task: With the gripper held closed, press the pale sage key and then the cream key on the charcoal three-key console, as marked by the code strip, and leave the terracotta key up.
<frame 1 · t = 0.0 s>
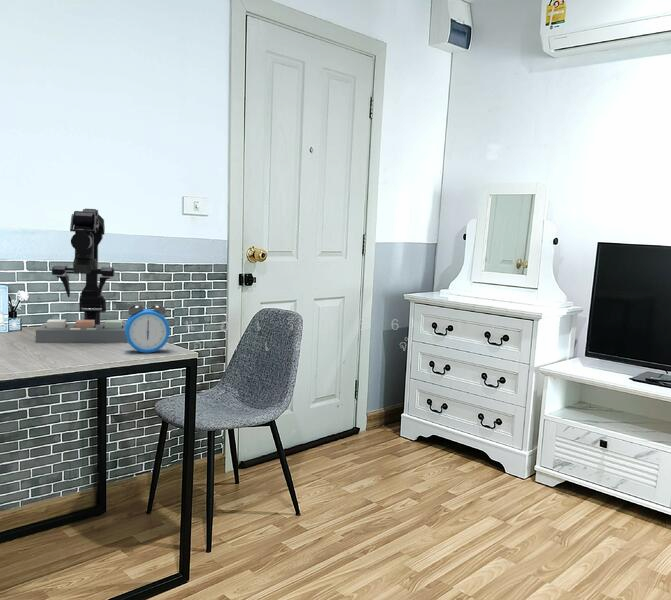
hand: (83, 297, 204), 15 cm above the table, tool pointing down, fingers open, 9 cm apart
cream key: (56, 325, 207), point 4 cm above the table, slide at 0.0 cm
alarm clock: (146, 352, 193), on the table
sage key: (113, 326, 212), point 4 cm above the table, slide at 0.0 cm
console: (84, 339, 209), on the table
terracotta key: (85, 326, 210), point 4 cm above the table, slide at 0.0 cm
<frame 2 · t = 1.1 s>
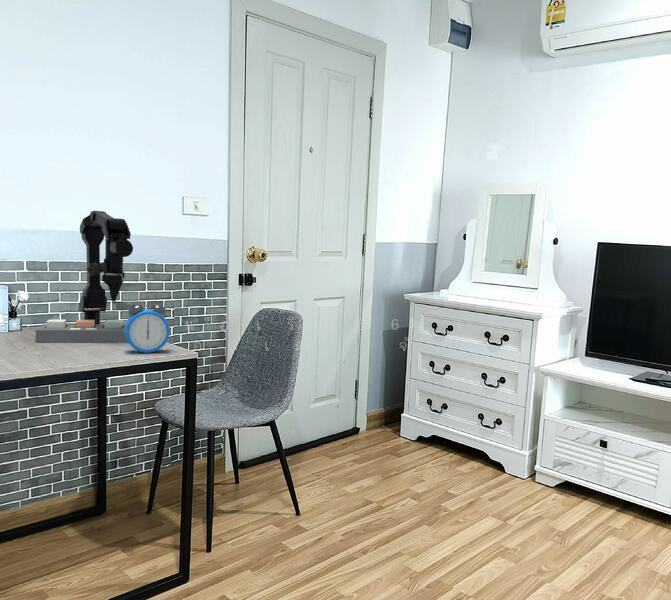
hand: (113, 300, 212), 13 cm above the table, tool pointing down, fingers closed
nothing on the table moved.
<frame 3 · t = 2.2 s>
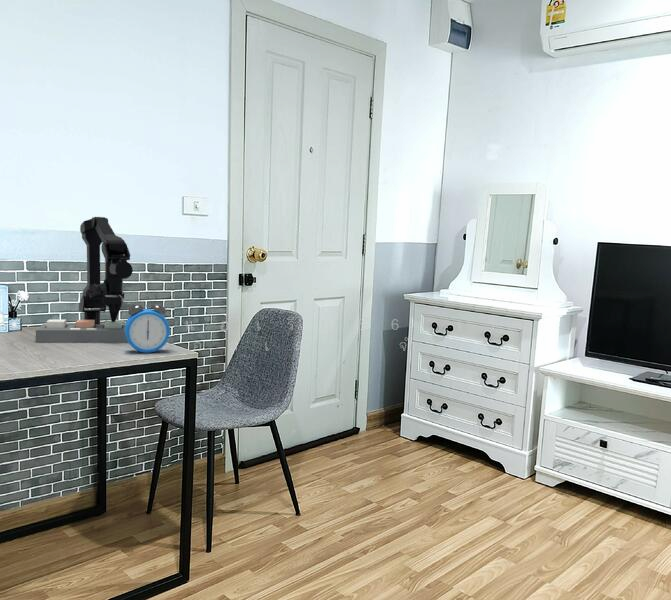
hand: (113, 321, 212), 6 cm above the table, tool pointing down, fingers closed, pressing on sage key
sage key: (113, 326, 212), point 4 cm above the table, slide at 0.1 cm, touching gripper
everything else where it was.
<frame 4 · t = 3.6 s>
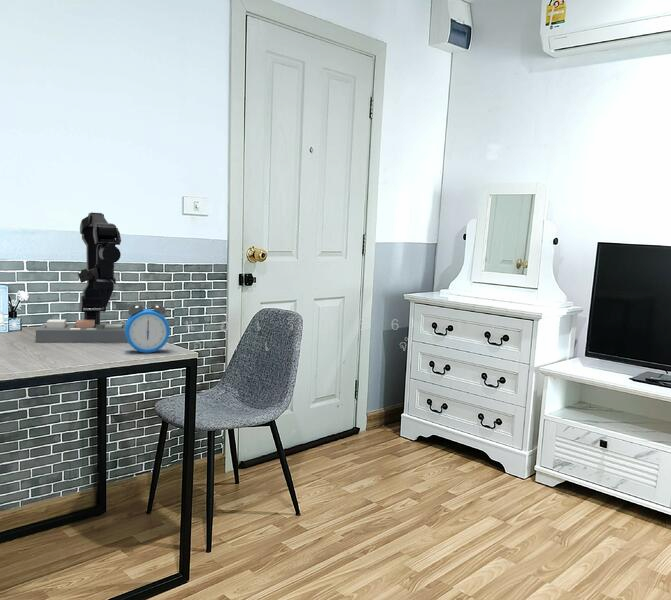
hand: (104, 306, 211), 11 cm above the table, tool pointing down, fingers closed
sage key: (113, 330, 213), point 3 cm above the table, slide at 1.4 cm
everything else where it was.
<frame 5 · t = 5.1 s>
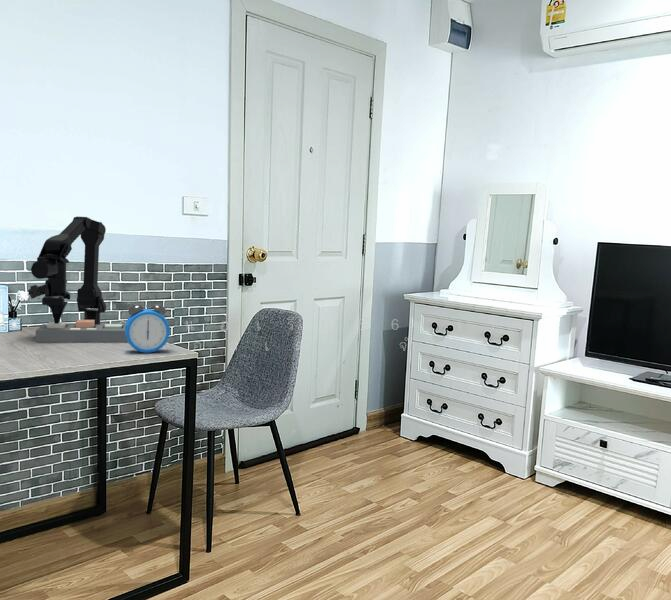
hand: (56, 323, 207), 5 cm above the table, tool pointing down, fingers closed, pressing on cream key
cream key: (56, 328, 207), point 3 cm above the table, slide at 0.9 cm, touching gripper
everything else where it was.
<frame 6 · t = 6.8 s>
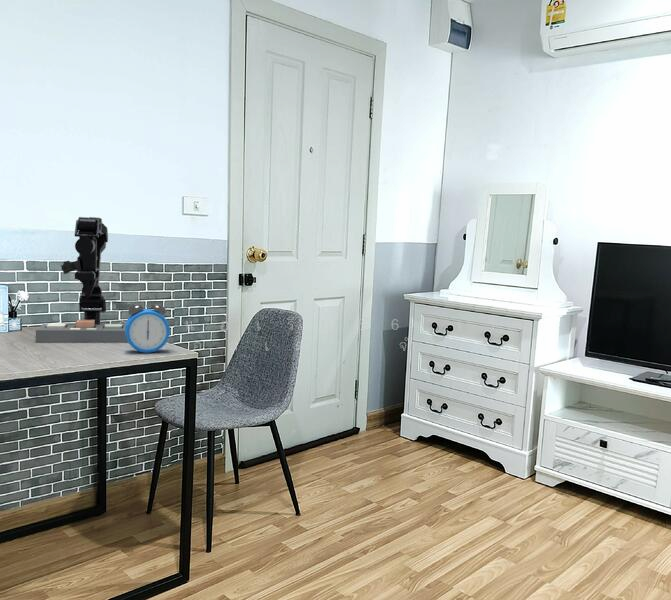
hand: (87, 297, 217), 13 cm above the table, tool pointing down, fingers closed
cream key: (56, 329, 208), point 3 cm above the table, slide at 1.4 cm
everything else where it was.
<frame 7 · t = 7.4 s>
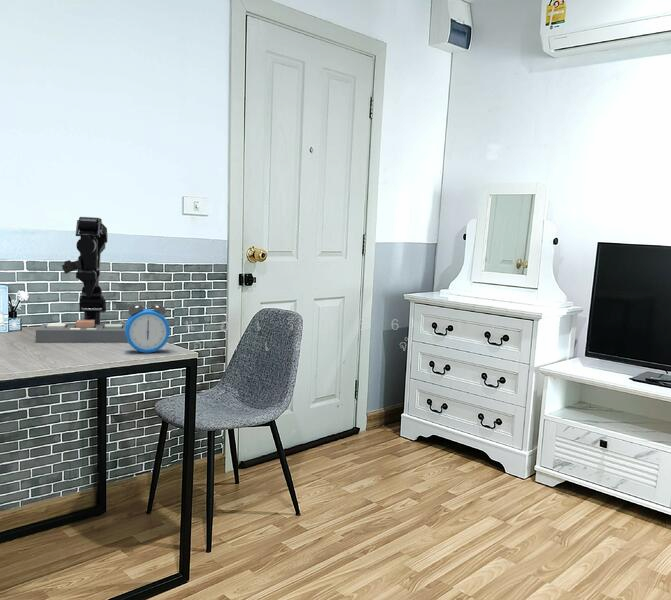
hand: (88, 297, 218), 13 cm above the table, tool pointing down, fingers closed
nothing on the table moved.
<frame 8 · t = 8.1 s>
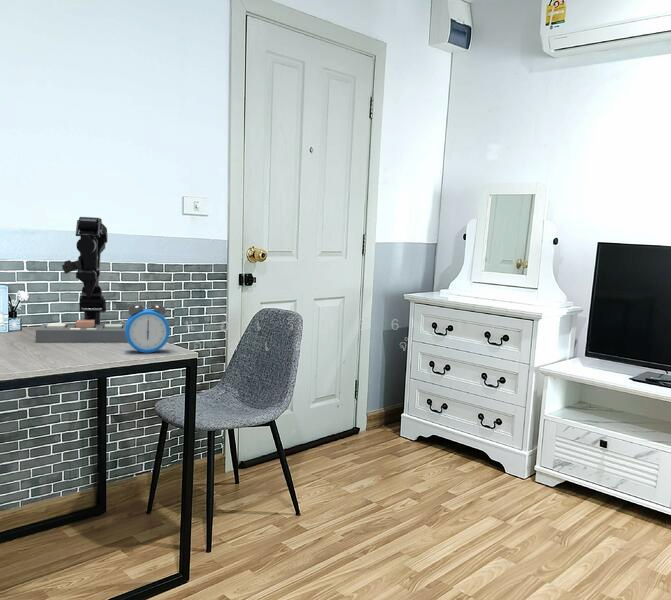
hand: (88, 297, 218), 13 cm above the table, tool pointing down, fingers closed
nothing on the table moved.
at the end: sage key slide at 1.4 cm; cream key slide at 1.4 cm; terracotta key slide at 0.0 cm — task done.
